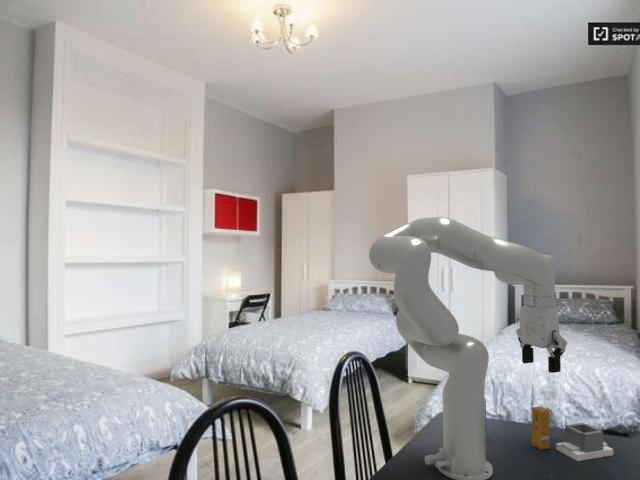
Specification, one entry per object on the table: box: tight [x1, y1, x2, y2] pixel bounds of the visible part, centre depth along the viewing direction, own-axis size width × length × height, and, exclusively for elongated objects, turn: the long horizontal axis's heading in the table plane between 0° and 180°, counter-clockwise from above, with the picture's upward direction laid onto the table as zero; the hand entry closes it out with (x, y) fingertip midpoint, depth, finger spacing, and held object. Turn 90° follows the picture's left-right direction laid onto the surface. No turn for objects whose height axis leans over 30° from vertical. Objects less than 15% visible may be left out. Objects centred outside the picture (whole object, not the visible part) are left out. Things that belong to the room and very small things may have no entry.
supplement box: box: [531, 406, 550, 450], centre depth 126 cm, size 3×3×10 cm
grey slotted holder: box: [555, 422, 614, 462], centre depth 122 cm, size 11×7×6 cm, turn 106°
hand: (540, 367), depth 126 cm, fingers open, 9 cm apart
